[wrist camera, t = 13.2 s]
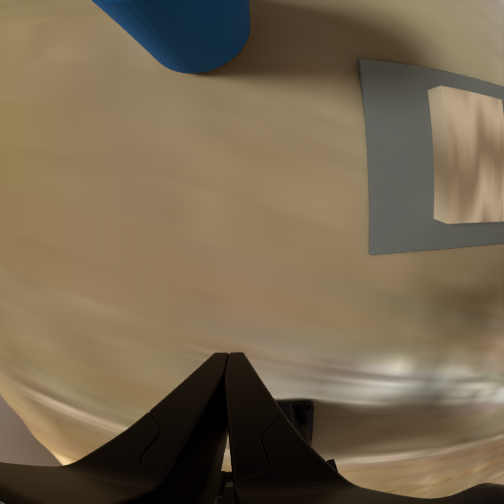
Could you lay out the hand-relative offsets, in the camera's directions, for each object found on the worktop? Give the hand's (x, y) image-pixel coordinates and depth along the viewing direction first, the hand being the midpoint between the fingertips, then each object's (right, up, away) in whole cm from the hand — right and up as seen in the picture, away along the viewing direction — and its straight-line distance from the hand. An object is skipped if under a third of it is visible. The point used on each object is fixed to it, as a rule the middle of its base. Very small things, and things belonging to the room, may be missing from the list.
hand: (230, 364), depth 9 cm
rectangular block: (+13, +10, +8) cm, 18 cm away
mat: (+15, +10, +9) cm, 20 cm away
